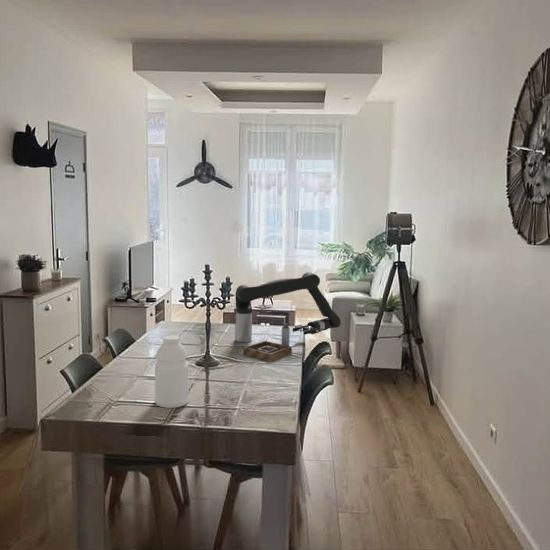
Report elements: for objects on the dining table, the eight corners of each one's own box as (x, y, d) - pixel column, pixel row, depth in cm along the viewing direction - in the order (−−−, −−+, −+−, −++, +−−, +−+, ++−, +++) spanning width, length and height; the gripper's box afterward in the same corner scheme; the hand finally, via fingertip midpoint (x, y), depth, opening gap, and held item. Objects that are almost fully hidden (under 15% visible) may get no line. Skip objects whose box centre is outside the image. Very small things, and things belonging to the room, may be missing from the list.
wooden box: (243, 354, 297) (243, 347, 296) (265, 347, 312) (265, 340, 311) (270, 361, 285) (270, 354, 285) (291, 353, 300) (291, 346, 299)
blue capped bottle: (279, 348, 310) (280, 324, 308) (284, 346, 313) (285, 323, 311) (286, 349, 307) (286, 325, 305) (290, 348, 311) (291, 324, 308)
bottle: (158, 410, 218) (157, 343, 214) (151, 398, 231) (151, 334, 227) (192, 405, 224) (192, 340, 220) (184, 394, 237) (184, 331, 232)
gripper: (307, 318, 333) (289, 323, 321) (325, 322, 323) (307, 327, 312) (306, 330, 334) (289, 335, 322) (325, 335, 325) (307, 340, 313)
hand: (298, 331), depth 317 cm, fingers open, 8 cm apart
